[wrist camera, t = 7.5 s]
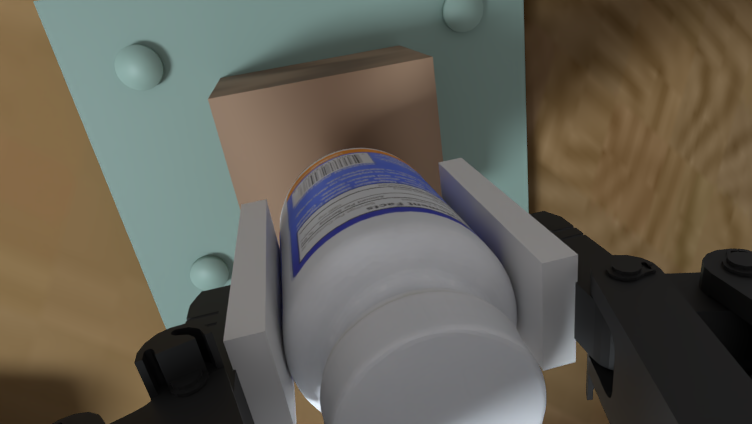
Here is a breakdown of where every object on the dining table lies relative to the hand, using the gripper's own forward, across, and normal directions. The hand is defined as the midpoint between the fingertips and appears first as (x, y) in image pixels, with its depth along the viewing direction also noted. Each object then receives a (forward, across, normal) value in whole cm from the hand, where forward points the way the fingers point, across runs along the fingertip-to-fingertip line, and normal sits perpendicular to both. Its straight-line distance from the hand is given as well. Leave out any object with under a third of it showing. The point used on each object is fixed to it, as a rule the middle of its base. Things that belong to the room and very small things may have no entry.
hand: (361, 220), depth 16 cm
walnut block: (+9, 0, 0) cm, 9 cm away
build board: (+10, 0, 0) cm, 10 cm away
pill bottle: (+2, 0, -1) cm, 2 cm away
